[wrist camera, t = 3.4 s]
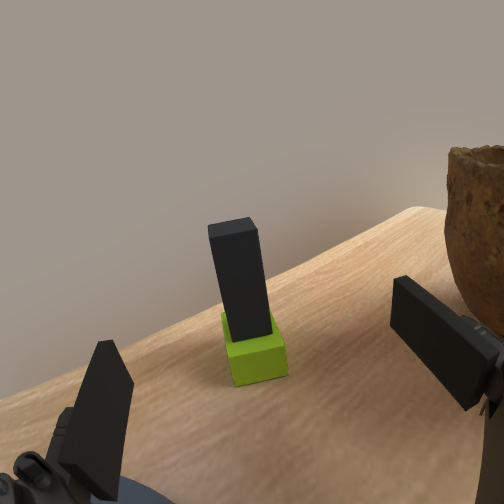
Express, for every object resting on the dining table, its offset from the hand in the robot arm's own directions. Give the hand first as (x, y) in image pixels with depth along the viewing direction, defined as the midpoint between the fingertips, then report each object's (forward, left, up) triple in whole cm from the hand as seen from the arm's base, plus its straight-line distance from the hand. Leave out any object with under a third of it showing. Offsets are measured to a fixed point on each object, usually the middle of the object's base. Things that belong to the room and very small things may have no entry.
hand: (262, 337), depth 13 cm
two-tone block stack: (-8, +4, -8) cm, 12 cm away
